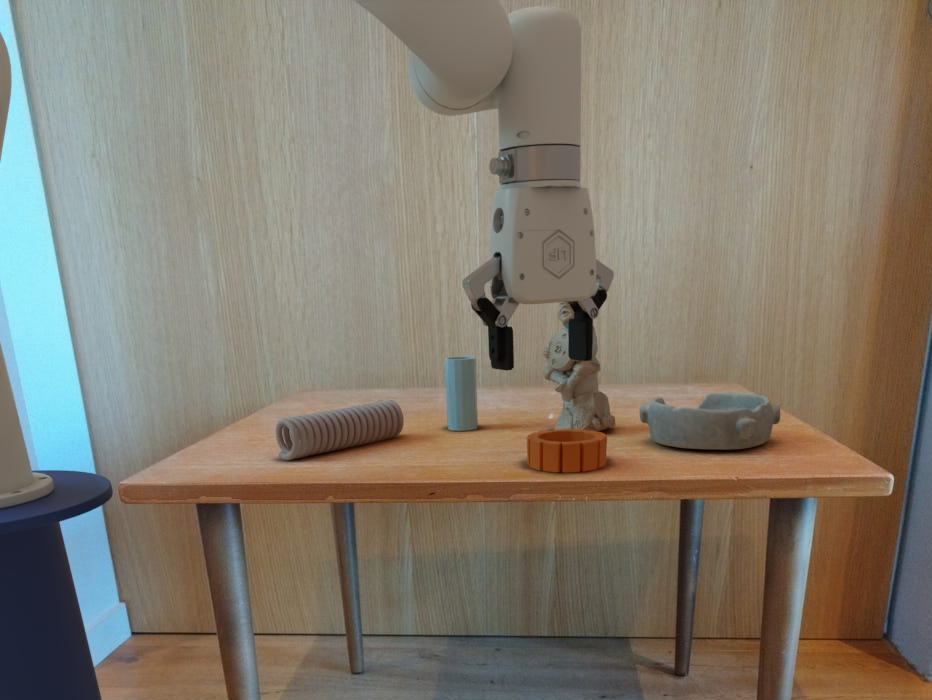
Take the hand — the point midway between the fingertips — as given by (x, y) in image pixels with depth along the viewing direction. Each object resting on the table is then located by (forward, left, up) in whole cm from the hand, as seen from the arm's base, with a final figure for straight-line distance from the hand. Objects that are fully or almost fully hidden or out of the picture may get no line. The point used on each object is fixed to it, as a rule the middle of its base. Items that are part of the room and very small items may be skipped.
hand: (542, 364), depth 86 cm
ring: (+3, 0, -11) cm, 11 cm away
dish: (+23, -2, -11) cm, 26 cm away
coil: (-12, +25, -11) cm, 29 cm away
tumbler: (+6, +26, -11) cm, 29 cm away
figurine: (+16, +14, -11) cm, 24 cm away
